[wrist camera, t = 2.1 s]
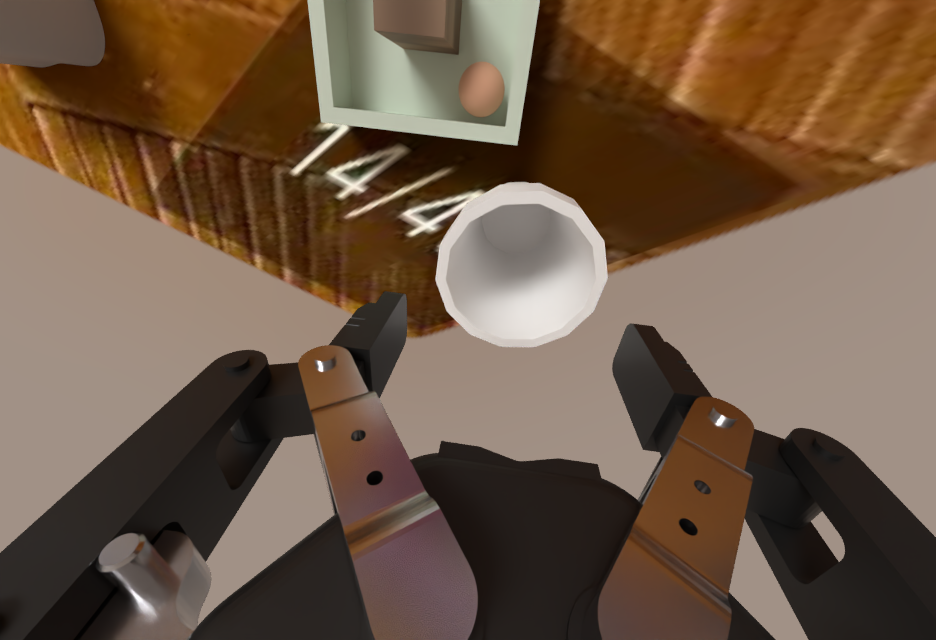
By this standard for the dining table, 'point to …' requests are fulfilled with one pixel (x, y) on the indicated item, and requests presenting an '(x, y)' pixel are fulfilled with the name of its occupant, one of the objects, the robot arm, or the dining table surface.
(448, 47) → the block
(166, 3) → the dining table surface
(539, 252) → the foam cup
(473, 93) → the ball
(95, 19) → the lumpy-topped squat cylinder
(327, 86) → the bin
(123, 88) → the dining table surface
